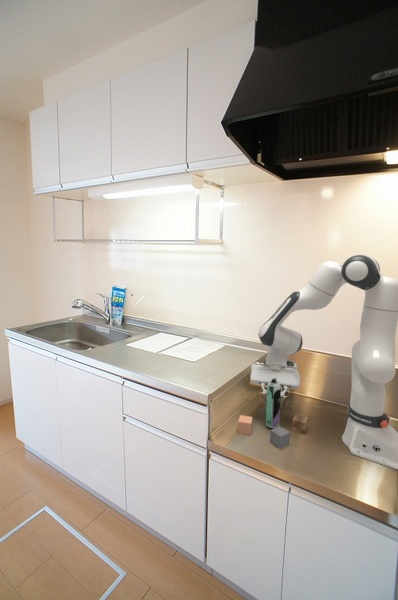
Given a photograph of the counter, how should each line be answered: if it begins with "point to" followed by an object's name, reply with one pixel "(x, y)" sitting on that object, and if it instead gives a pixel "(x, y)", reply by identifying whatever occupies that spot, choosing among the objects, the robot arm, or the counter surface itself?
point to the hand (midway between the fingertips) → (273, 395)
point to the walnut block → (300, 424)
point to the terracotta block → (245, 425)
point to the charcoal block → (279, 437)
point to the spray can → (273, 404)
